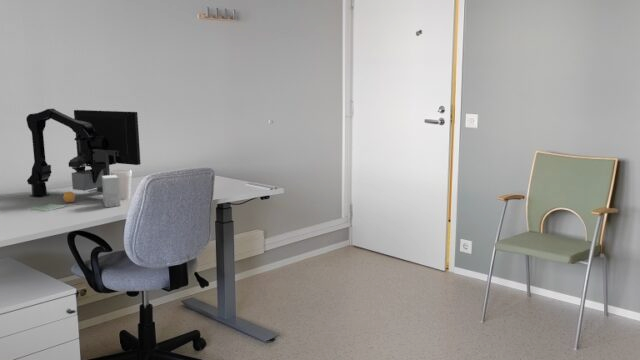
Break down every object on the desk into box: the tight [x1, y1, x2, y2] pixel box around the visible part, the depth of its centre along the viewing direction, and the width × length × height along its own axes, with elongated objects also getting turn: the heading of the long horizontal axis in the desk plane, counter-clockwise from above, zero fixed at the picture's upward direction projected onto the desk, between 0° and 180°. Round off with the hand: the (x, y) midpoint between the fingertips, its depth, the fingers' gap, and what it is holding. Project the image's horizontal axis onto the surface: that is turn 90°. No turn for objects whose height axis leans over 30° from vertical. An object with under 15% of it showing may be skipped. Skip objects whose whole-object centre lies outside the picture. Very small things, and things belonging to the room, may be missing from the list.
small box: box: [102, 174, 121, 208], centre depth 272 cm, size 8×6×13 cm
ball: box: [62, 191, 76, 203], centre depth 279 cm, size 5×5×5 cm
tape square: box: [30, 203, 66, 212], centre depth 269 cm, size 10×10×1 cm
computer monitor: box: [73, 109, 142, 194], centre depth 299 cm, size 41×8×40 cm, turn 63°
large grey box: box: [71, 168, 104, 192], centre depth 288 cm, size 8×12×8 cm, turn 154°
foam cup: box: [110, 169, 133, 201], centre depth 286 cm, size 10×9×13 cm
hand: (88, 182), depth 288 cm, fingers closed on large grey box, 8 cm apart
